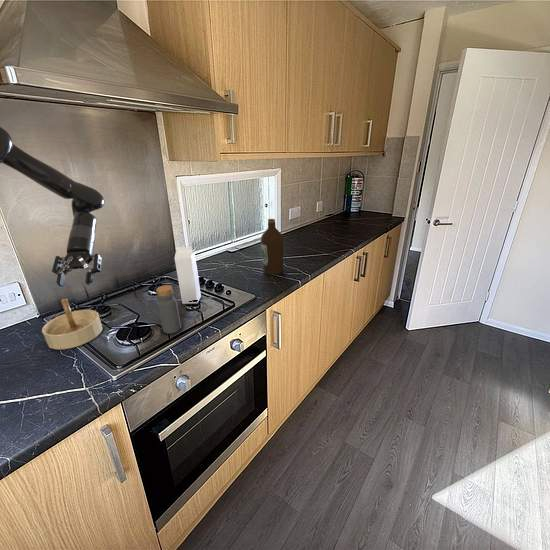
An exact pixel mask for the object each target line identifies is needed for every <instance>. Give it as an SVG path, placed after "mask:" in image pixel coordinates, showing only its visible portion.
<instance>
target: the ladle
mask: <svg viewBox="0 0 550 550" xmlns="http://www.w3.org/2000/svg"><path fill="white" fill-rule="evenodd" d="M60 302H61V305H62V308H63V310H64V314H66V316H67V319H68V322H69V325H70V327H68V328H67V329H66V330H65V332H66V334H67V333H70V332H74V331H77V330H79V329H82V328H83V325H81V324H76V323H75V320H74V318H73V315H72V312H73V311H72V309H71V306H70V303H69V300H68V299H67V298H62V299H61V301H60Z"/></svg>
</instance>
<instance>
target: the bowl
mask: <svg viewBox="0 0 550 550" xmlns="http://www.w3.org/2000/svg"><path fill="white" fill-rule="evenodd" d="M71 312H72V315H73V318H74V320H75V323H76V324H81V325H83V328H82V329H79V330H77V331H74V332H70V333H67V334H66V332H65V330H66V329H67V328H68V327H70V325H69V322H68V319H67V316H66V314H65V313H63V314H60V315H58V316H56V317H54V318H52V319H50V320H49V321H48V322H46V323H45V324H44V325H43V326H42V328H41V333H42V337H43V339H44V342H45V343H46V345H47V346H48V348H49V349H53V350H69V349H73V348H76V347H79V346H82V345H85V344H87V343H89V342H91V341H93V340H95V338H97V337H98V336H99V335H100V334H101V333H102V331H103V329H104V328H103V323H102V320H101V317H100V313H99V312H98V311H96V310H93V309H77V310H74V311H71Z"/></svg>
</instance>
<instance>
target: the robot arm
mask: <svg viewBox="0 0 550 550" xmlns="http://www.w3.org/2000/svg"><path fill="white" fill-rule="evenodd" d="M13 142H14V141H13V139H12V137H11V135H10V134H9V132H8V131H7V130H6V129H5V128H3V127H1V126H0V164H3V165H5V166H8V167H9V168H11V169H13V170H15V171H17V172H18V173H20V174H22V175H23V176H25V177H27V178H28V179H30V180H32V181H33V182H35V183H36V184H38V185H39V186H41V187H43V188H44V189H46V190H48V191H49V192H51V193H53V194H55V195H56V196H58V197H60V198H61V199H65V200H71V211H72V217H73V219H72V224H71V229H70V232H69V235H68V242H67V245H66V255H65V256H60V255H56V256H55V258H54V261H53V265H52V269H51V272H52V273H53V274H54V275H57V277H56V284H57V286H59V287H65V282H66V277H67V274H68V273H70V272H71V273H72V271H73V270H78V269H81V270H82V269H83V270H84V269H85V270H86V271H87V272H86V273H85V280H84V281H85V283H84V284H86V285H88V286H89V285H92V284H93V282H94V278H95V277H94V276H95V274H97V273H100V272H102V260H103V257H102V256H101V255H100V254H99V253H95V254H94V247H95V242H96V231H97V230H96V229H97V217H96V215H94V214H92V213H93V212H94V211H97V210H100V209H102V208H103V207H104V205H105V198H104V196H103V195H102V194H101V192H99V191H98V190H97V189H96V188H93V187H90V186H88V185H85V184H83V183H80V182H78V181H75V180H73V179H72V178H70V177H69V176H67V175H66V174H64V173H62V172H61V171H59V170H58V169H56V168H54V167H52V166H51V165H49V164H48V163H45V162H43V161H41V160H40V159H38V158H36V157H34V156H33V155H30V154H29V153H28V152H26V151H24V150H22V149H21V148H19V147H18V146H17V145H15V144H14V143H13ZM91 212H92V213H91ZM92 261H93V267H92V265H91V264H90V263H91V262H92Z"/></svg>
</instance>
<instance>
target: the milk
mask: <svg viewBox="0 0 550 550" xmlns="http://www.w3.org/2000/svg"><path fill="white" fill-rule="evenodd" d="M174 254H175V255H174V263H175V269H176V275H177V281H178V286H179V292H180V296H181V297H180V298H181V303H182V305H192V304H194V305H196V304H197V305H198V304H199V301H200V299H201V297H202V292H201V287H200V280H199V273H198V266H197V259H196V252H195V251H194V250H193V246H176V247H175V253H174ZM192 300H198V301H197V302H189V301H192Z"/></svg>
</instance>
